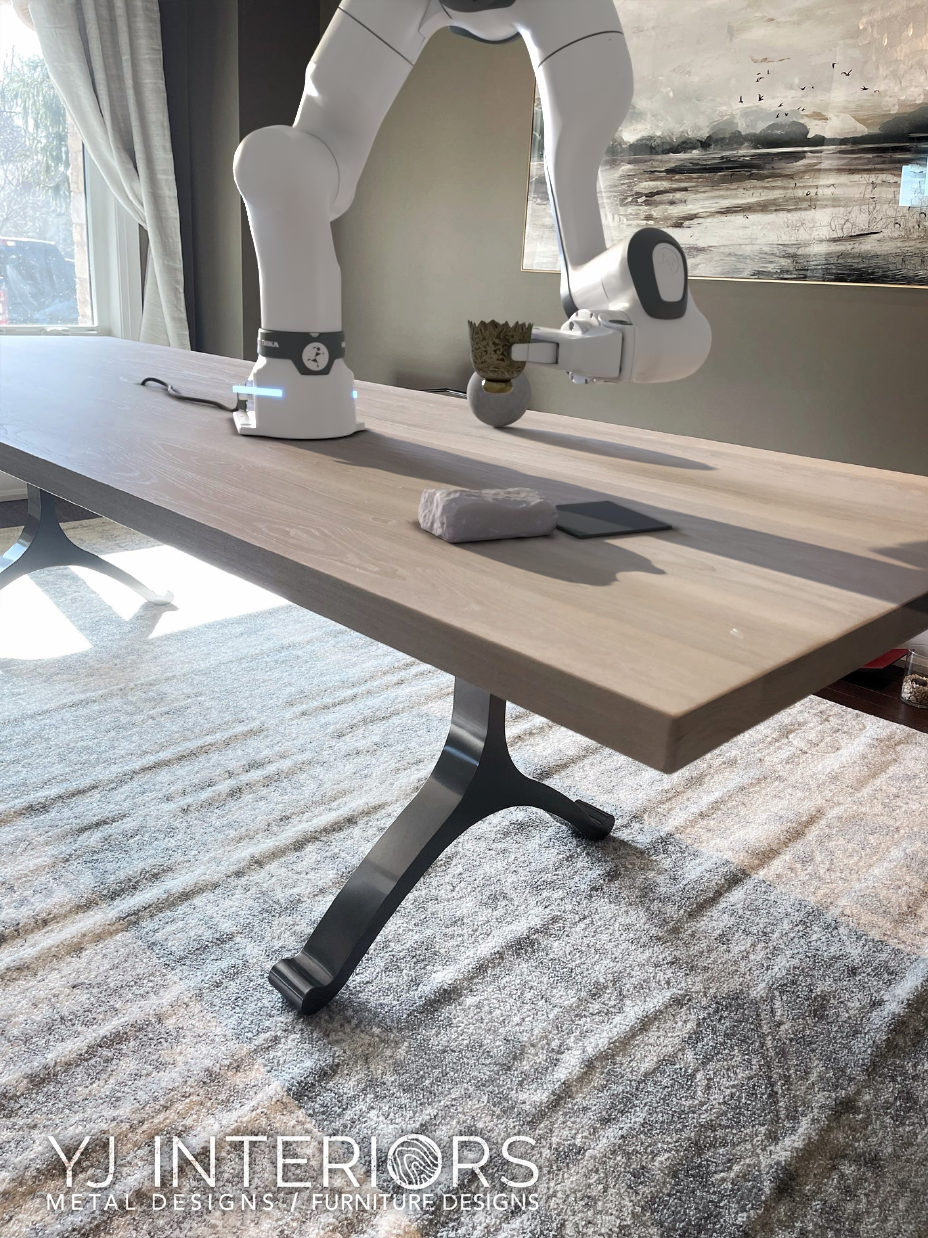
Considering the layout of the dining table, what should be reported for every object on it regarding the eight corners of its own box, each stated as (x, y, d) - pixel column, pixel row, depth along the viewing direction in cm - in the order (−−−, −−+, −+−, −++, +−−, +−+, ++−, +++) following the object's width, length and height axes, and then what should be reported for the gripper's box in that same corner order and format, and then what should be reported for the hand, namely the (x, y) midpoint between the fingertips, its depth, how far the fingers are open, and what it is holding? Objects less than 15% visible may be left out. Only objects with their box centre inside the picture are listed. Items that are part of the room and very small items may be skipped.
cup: (496, 387, 115) (499, 318, 113) (542, 394, 110) (546, 322, 108) (452, 391, 110) (454, 319, 108) (498, 398, 106) (501, 323, 103)
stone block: (408, 536, 94) (447, 543, 85) (408, 487, 93) (446, 489, 84) (516, 532, 99) (563, 539, 90) (516, 486, 98) (564, 488, 89)
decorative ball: (505, 419, 156) (509, 356, 152) (541, 429, 148) (545, 363, 144) (453, 422, 151) (456, 357, 147) (487, 433, 143) (491, 364, 139)
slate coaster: (521, 510, 99) (521, 508, 99) (607, 503, 104) (608, 500, 103) (579, 538, 90) (580, 535, 90) (671, 528, 95) (672, 525, 94)
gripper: (549, 314, 122) (453, 313, 116) (647, 326, 105) (540, 326, 99) (546, 364, 124) (451, 366, 118) (641, 384, 107) (536, 387, 101)
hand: (492, 348), depth 108 cm, fingers closed on cup, 7 cm apart
